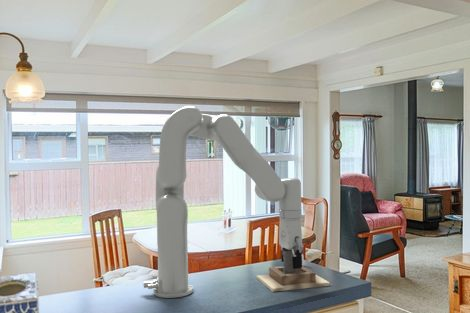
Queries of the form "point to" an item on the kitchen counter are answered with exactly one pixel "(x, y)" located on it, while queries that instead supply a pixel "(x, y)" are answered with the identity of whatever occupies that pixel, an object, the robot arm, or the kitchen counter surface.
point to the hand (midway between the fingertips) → (291, 264)
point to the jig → (291, 279)
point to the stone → (288, 262)
